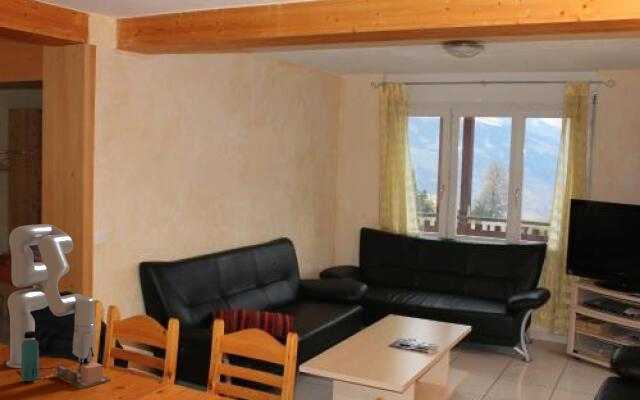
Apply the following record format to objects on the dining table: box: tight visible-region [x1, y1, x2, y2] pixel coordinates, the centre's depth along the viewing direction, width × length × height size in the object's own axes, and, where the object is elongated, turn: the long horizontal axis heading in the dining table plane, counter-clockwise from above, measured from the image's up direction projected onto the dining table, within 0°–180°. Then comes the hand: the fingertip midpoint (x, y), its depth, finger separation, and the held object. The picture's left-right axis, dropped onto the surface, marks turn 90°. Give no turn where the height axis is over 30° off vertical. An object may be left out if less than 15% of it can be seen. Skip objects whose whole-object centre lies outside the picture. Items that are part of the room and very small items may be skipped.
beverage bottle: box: [20, 331, 40, 382], centre depth 262 cm, size 6×7×20 cm
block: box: [80, 361, 103, 384], centre depth 263 cm, size 6×6×6 cm
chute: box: [55, 365, 112, 390], centre depth 268 cm, size 20×13×4 cm, turn 46°
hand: (84, 373), depth 267 cm, fingers closed
